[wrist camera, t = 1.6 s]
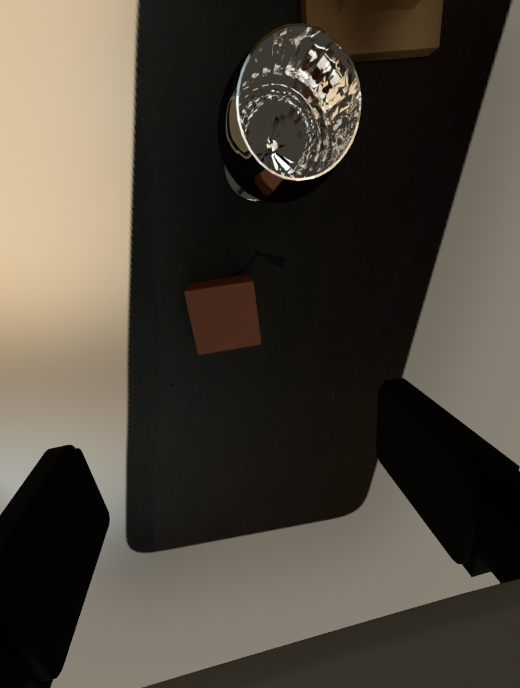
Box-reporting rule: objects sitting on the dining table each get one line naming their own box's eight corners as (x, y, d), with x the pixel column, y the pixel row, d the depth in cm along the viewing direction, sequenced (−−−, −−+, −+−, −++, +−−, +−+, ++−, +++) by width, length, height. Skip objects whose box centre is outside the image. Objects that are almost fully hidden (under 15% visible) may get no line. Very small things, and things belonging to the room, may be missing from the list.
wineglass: (228, 219, 23) (245, 214, 12) (203, 132, 21) (195, 23, 10) (300, 199, 23) (383, 175, 12) (283, 110, 21) (366, -21, 10)
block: (248, 274, 25) (253, 280, 22) (256, 331, 26) (261, 344, 24) (187, 283, 24) (183, 291, 21) (199, 340, 26) (197, 355, 23)
